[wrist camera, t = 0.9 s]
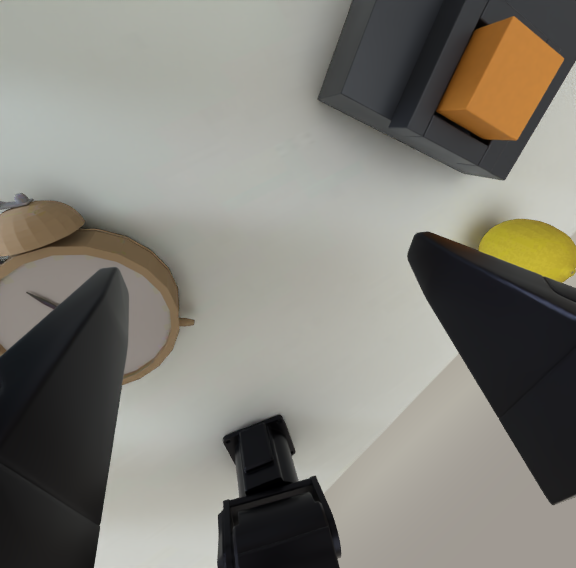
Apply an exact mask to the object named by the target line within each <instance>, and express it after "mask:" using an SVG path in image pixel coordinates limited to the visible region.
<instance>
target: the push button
mask: <svg viewBox="0 0 576 568" xmlns="http://www.w3.org/2000/svg"><path fill="white" fill-rule="evenodd" d="M512 16H515V17H516V18H517V19H518V20H520V21H521V22H522V23H523V24H524V25H525V26H527V27H528V28H529V29H530V30H531V31H533V32H534V33H535V34H536V35H537V36H538V37H540V38H541V39H542V40H543V41H544V42H546V43H547V44H548V45H549V46H550V47H551V48H553V49H554V50H555V51H556V52H557V53H559V54H560V55H561V56H562V57H563V58H564V61H563V63H562V64H561V66H560V68H559V69H558V71H557V73H556V75H555V76H554V78H553V80H552V81H551V83H550V85H549V87H548V88H547V90H546V92H545V93H544V95H543V97H542V99H541V100H540V102H539V104H538V106H537V107H536V109H535V111H534V112H533V114H532V116H531V118H530V119H529V121H528V123H527V124H526V126H525V128H524V130H523V131H522V133H521V135H520V136H519V138H518V140H516V141H514V140H487V139H482V138H480V137H478V136H477V135H475V134H473V133H472V132H470V131H468V130H466V129H465V128H463V127H461V126H460V125H458V124H456V123H454V122H453V121H451V120H449V119H448V118H446V117H444V116H442V115H441V114H439V113H437V112H436V109H437V107H438V105H439V103H440V101H441V99H442V97H443V95H444V93H445V91H446V89H447V87H448V85H449V82H450V80H451V78H452V76H453V74H454V72H455V70H456V68H457V66H458V64H459V62H460V60H461V58H462V55H463V53H464V51H465V49H466V47H467V45H468V43H469V41H470V39H471V37H472V35H473V33H474V31H475V30H476V29H479V28H481V27H484V26H487V25H490V24H493V23H495V22H498V21H501V20H504V19H507V18H509V17H512ZM575 61H576V0H353V1H352V4H351V7H350V10H349V12H348V15H347V18H346V21H345V24H344V26H343V29H342V32H341V35H340V38H339V40H338V43H337V46H336V49H335V52H334V54H333V57H332V60H331V63H330V66H329V68H328V71H327V74H326V77H325V80H324V82H323V85H322V88H321V91H320V94H319V96H318V100H319V101H321V102H323V103H325V104H327V105H329V106H331V107H333V108H335V109H337V110H339V111H341V112H343V113H345V114H347V115H349V116H351V117H353V118H355V119H357V120H359V121H361V122H363V123H365V124H367V125H369V126H371V127H373V128H375V129H377V130H379V131H381V132H383V133H385V134H387V135H389V136H390V137H392V138H394V139H396V140H398V141H400V142H402V143H404V144H406V145H408V146H410V147H412V148H414V149H416V150H418V151H420V152H422V153H424V154H426V155H428V156H430V157H432V158H434V159H436V160H438V161H440V162H442V163H444V164H446V165H448V166H450V167H452V168H454V169H456V170H458V171H460V172H462V173H464V174H469V175H475V176H480V177H486V178H492V179H498V180H505V179H506V177H507V176H508V174H509V172H510V171H511V169H512V167H513V166H514V164H515V162H516V160H517V159H518V157H519V155H520V154H521V152H522V150H523V149H524V147H525V145H526V144H527V142H528V140H529V139H530V137H531V135H532V134H533V132H534V130H535V128H536V127H537V125H538V123H539V122H540V120H541V118H542V117H543V115H544V113H545V112H546V110H547V108H548V107H549V105H550V103H551V102H552V100H553V98H554V96H555V95H556V93H557V91H558V90H559V88H560V86H561V85H562V83H563V81H564V80H565V78H566V76H567V75H568V73H569V71H570V70H571V68H572V66H573V64H574V63H575Z"/></svg>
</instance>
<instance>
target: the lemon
mask: <svg viewBox="0 0 576 568" xmlns="http://www.w3.org/2000/svg"><path fill="white" fill-rule="evenodd" d="M479 251H480V252H483V253H485V254H488V255H491V256H493V257H496V258H498V259H501V260H504V261H506V262H509V263H511V264H514V265H517V266H519V267H522V268H524V269H527V270H530V271H532V272H535V273H537V274H540V275H542V276H545V277H548V278H550V279H553V280H556V281H558V282H561V283H562V282H564V281H565V280H567V279H568V278H569V277H571V276H573V275H574V274H575V272H576V270H575V268H576V246H575V244H574V242H573V241H572V240H571V238H570V237H569V236H568V235H566V234H565V233H564V232H562V231H560V230H559V229H557V228H555V227H553V226H551V225H549V224H547V223H544V222H540V221H536V220H529V219H514V220H509V221H505V222H502V223H500V224H498V225H496V226H494V227H493V228H491V229H490V230H489V231H488V232H487V233H486V234H485V235H484V237H483V238H482V240H481V242H480V245H479Z"/></svg>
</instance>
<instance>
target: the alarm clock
mask: <svg viewBox="0 0 576 568" xmlns="http://www.w3.org/2000/svg"><path fill="white" fill-rule="evenodd" d="M15 201H16V202H2V201H0V210H2V209H8V208H10V209H8V210H6V211H5V212H3V213H2V214H0V256H10V257H9V258H8V259H6V260H5V261H4V262H3V261H2V260H0V356H1V355H2V354H3V353H5V352H6V351H7V350H8V349H9V348H10V347H11V346H13V345H14V344H15V343H16V342H17V341H18V340H19V339H21V338H22V337H23V336H24V335H25V334H26V333H27V332H28V331H30V330H31V329H32V328H33V327H34V326H35V325H36V324H38V323H39V322H40V321H41V320H42V319H43V318H44V317H46V316H47V315H48V314H49V313H50V312H51V311H52V310H54V309H55V308H56V307H57V306H58V305H59V304H60V303H62V302H63V301H64V300H65V299H66V298H67V297H68V296H69V295H71V294H72V293H73V292H74V291H75V290H76V289H77V288H79V287H80V286H81V285H82V284H83V283H84V282H85V281H87V280H88V279H89V278H90V277H91V276H92V275H93V274H95V273H96V272H97V271H98V270H99V269H101V268H108V267H117V268H119V270H120V272H121V274H122V276H123V279H124V281H125V284H126V286H127V289H128V292H129V333H128V350H127V357H126V363H125V370H124V376H123V382H122V385H124V384H127V383H130V382H132V381H135V380H138V379H140V378H142V377H143V376H145V375H146V374H148V373H149V372H151V371H152V370H154V369H155V368H157V367H158V366H159V365H160V364H161V363H162V362H163V361H164V359H165V358H166V357H167V356H168V355H169V353H170V352H171V351H172V350H173V347H174V344H175V341H176V339H177V336H178V333H179V326H191V325H194V320H191V319H187V318H179V315H178V311H179V297H178V287H177V285H176V283H175V281H174V278H173V276H172V274H171V272H170V270H169V268H168V267H167V266H166V265H165V264H164V263H163V262H162V261H161V260H160V259H159V258H158V257H157V256H156V255H155V254H154V253H153V252H152V251H151V250H150V249H148V248H146V247H144V246H143V245H141V244H139V243H137V242H136V241H134V240H132V239H130V238H129V237H127V236H123V235H119V234H115V233H112V232H108V231H104V230H100V229H79V228H80V227H82V226H83V225H84V223H85V220H84V219H83V217H82V216H81V215H80V214H79V213H78V212H77V211H76V210H75V209H73V208H72V207H70V206H68V205H66V204H64V203H61V202H58V201H33V199H28V197H27V196H26V195H24V194H23V193H20V194H16V195H15ZM32 201H33V202H32Z"/></svg>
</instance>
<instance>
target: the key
mask: <svg viewBox="0 0 576 568" xmlns="http://www.w3.org/2000/svg"><path fill="white" fill-rule="evenodd" d="M563 61H564V58H563V57H562V56H561V55H560V54H559V53H557V52H556V51H555V50H554V49H553V48H551V47H550V46H549V45H548V44H547V43H546V42H544V41H543V40H542V39H541V38H540V37H538V36H537V35H536V34H535V33H534V32H533V31H531V30H530V29H529V28H528V27H527V26H525V25H524V24H523V23H522V22H521V21H520V20H518V19H517V18H516V17H515V16H512V17H509V18H507V19H504V20H501V21H498V22H495V23H493V24H490V25H487V26H484V27H481V28H479V29H476V30H475V31H474V33H473V35H472V37H471V39H470V41H469V43H468V45H467V47H466V49H465V51H464V53H463V55H462V58H461V60H460V62H459V64H458V66H457V68H456V70H455V72H454V74H453V76H452V78H451V80H450V82H449V85H448V87H447V89H446V91H445V93H444V95H443V97H442V99H441V101H440V103H439V105H438V107H437V109H436V112H437V113H439V114H441V115H442V116H444V117H446V118H448V119H449V120H451V121H453V122H454V123H456V124H458V125H460V126H461V127H463V128H465V129H466V130H468V131H470V132H472V133H473V134H475V135H477V136H478V137H480V138H482V139H487V140H514V141H516V140H518V138H519V136H520V135H521V133H522V131H523V130H524V128H525V126H526V124H527V123H528V121H529V119H530V118H531V116H532V114H533V112H534V111H535V109H536V107H537V106H538V104H539V102H540V100H541V99H542V97H543V95H544V93H545V92H546V90H547V88H548V87H549V85H550V83H551V81H552V80H553V78H554V76H555V75H556V73H557V71H558V69H559V68H560V66H561V64H562V63H563Z"/></svg>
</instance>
